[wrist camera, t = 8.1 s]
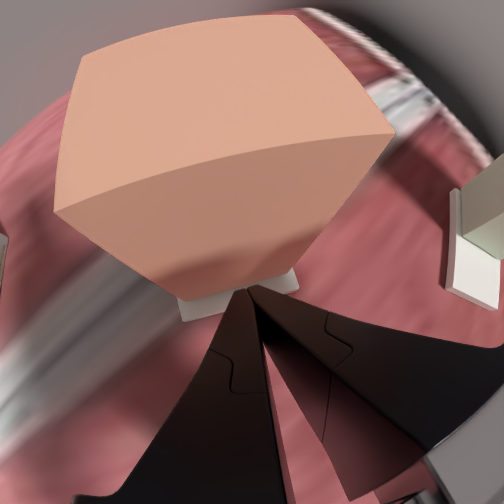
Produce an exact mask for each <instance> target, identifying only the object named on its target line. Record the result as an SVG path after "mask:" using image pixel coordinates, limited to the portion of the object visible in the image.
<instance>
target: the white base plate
mask: <svg viewBox="0 0 504 504" xmlns="http://www.w3.org/2000/svg"><path fill="white" fill-rule="evenodd" d="M449 195H450V235H449V254H448V266H447V276H446V284H445V290H447V291H449V292H451V293H453V294H455V295H458V296H460V297H462V298H464V299H466V300H468V301H470V302H473V303H475V304H477V305H479V306H481V307H483V308H485V309H487V310H489V311H493V310H498V300H499V285H500V260H498V259H497V258H495V257H494V256H493V255H491V254H490V253H488V252H487V251H485V250H484V249H482V248H481V247H479V246H477V245H476V244H474V243H473V242H471V241H470V240H468V239H466V238H465V237H463V236H462V198H461V191H460V190H458V189H457V188H454V189H453V190H452V191H451V192H449Z"/></svg>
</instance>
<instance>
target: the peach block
mask: <svg viewBox="0 0 504 504" xmlns="http://www.w3.org/2000/svg"><path fill="white" fill-rule="evenodd" d="M395 134H396V133H395V131H394V129H393V128H392V126H391V125H390V123H389V122H388V121H387V119H386V118H385V116H384V115H383V113H382V112H381V111H380V109H379V108H378V106H377V105H376V104H375V102H374V101H373V100H372V98H371V97H370V96H369V94H368V93H367V92H366V91H365V89H364V88H363V87H362V85H361V84H360V83H359V82H358V81H357V79H356V78H355V77H354V76H353V75H352V73H351V72H350V71H349V70H348V69H347V68H346V66H345V65H344V64H343V63H342V62H341V61H340V60H339V59H338V57H337V56H336V55H335V54H334V53H333V52H332V51H331V50H330V49H329V48H328V47H327V46H326V45H325V44H324V43H323V42H322V41H321V40H320V39H319V38H318V37H317V36H316V35H315V34H314V33H313V32H312V31H311V30H310V29H309V28H308V27H307V26H306V25H305V24H303V23H302V22H301V21H300V20H299V19H298V18H297V17H296V16H294V15H257V16H241V17H230V18H221V19H213V20H206V21H200V22H194V23H188V24H183V25H178V26H174V27H169V28H165V29H161V30H157V31H153V32H149V33H146V34H142V35H139V36H136V37H132V38H129V39H126V40H123V41H120V42H118V43H115V44H112V45H109V46H107V47H104V48H101V49H99V50H97V51H94V52H92V53H90V54H87V55H85V56H83V57H82V60H81V63H80V66H79V69H78V72H77V75H76V78H75V82H74V85H73V89H72V92H71V96H70V100H69V104H68V108H67V112H66V117H65V121H64V126H63V132H62V137H61V143H60V149H59V156H58V164H57V173H56V183H55V196H54V213H55V214H56V215H58V216H59V217H60V218H62V219H63V220H64V221H65V222H67V223H68V224H69V225H71V226H72V227H73V228H75V229H76V230H77V231H79V232H80V233H81V234H83V235H84V236H86V237H87V238H88V239H90V240H91V241H92V242H94V243H95V244H97V245H98V246H100V247H101V248H102V249H104V250H105V251H107V252H108V253H110V254H111V255H112V256H114V257H115V258H117V259H118V260H120V261H121V262H123V263H124V264H126V265H127V266H129V267H130V268H132V269H133V270H135V271H136V272H138V273H139V274H141V275H143V276H144V277H146V278H147V279H149V280H150V281H152V282H154V283H155V284H157V285H158V286H160V287H162V288H163V289H165V290H166V291H168V292H170V293H171V294H173V295H175V296H176V297H178V298H180V299H181V300H183V301H185V302H187V301H191V300H195V299H198V298H202V297H206V296H210V295H213V294H217V293H221V292H224V291H228V290H231V289H235V288H238V287H242V286H246V285H249V284H253V283H256V282H259V281H263V280H266V279H270V278H273V277H277V276H280V275H283V274H287V273H288V272H289V271H290V269H291V268H292V267H293V266H294V265H295V263H296V262H297V261H298V260H299V259H300V257H301V256H302V255H303V254H304V253H305V251H306V250H307V249H308V248H309V246H310V245H311V244H312V243H313V241H314V240H315V239H316V238H317V236H318V235H319V234H320V233H321V232H322V230H323V229H324V228H325V226H326V225H327V224H328V223H329V221H330V220H331V219H332V218H333V216H334V215H335V214H336V213H337V211H338V210H339V209H340V207H341V206H342V205H343V204H344V202H345V201H346V200H347V198H348V197H349V196H350V195H351V193H352V192H353V191H354V189H355V188H356V187H357V185H358V184H359V183H360V181H361V180H362V179H363V177H364V176H365V175H366V173H367V172H368V171H369V169H370V168H371V167H372V165H373V164H374V163H375V161H376V160H377V159H378V157H379V156H380V155H381V153H382V152H383V150H384V149H385V148H386V146H387V145H388V144H389V142H390V141H391V139H392V138H393V137H394V135H395Z"/></svg>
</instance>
